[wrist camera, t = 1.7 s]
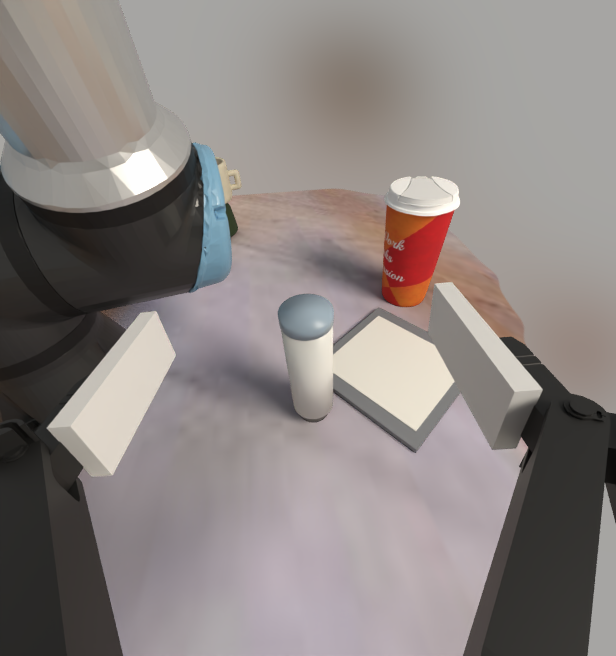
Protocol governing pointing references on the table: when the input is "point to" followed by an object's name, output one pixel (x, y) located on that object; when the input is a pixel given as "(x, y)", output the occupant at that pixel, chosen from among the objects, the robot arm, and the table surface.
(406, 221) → the coffee cup
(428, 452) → the table surface
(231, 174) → the character mug
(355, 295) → the table surface
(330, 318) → the thick grey marker
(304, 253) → the table surface
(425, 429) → the writing board
